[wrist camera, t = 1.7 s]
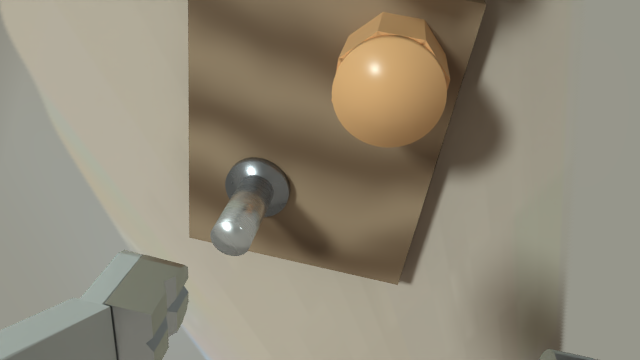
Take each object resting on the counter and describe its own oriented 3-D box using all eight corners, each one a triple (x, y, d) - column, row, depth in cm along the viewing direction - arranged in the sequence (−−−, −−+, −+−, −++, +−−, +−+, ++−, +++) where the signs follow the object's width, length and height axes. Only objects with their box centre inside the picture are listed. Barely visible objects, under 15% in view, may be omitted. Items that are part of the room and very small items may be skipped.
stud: (229, 151, 32) (193, 200, 27) (293, 165, 31) (270, 217, 26) (226, 204, 34) (193, 259, 29) (286, 218, 34) (264, 275, 29)
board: (198, -54, 27) (188, -51, 26) (483, -2, 26) (486, 4, 24) (197, 225, 37) (189, 237, 36) (398, 271, 36) (397, 284, 35)
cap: (353, 6, 26) (341, 28, 21) (454, 25, 25) (461, 51, 21) (337, 99, 28) (324, 135, 24) (427, 117, 28) (429, 157, 24)
